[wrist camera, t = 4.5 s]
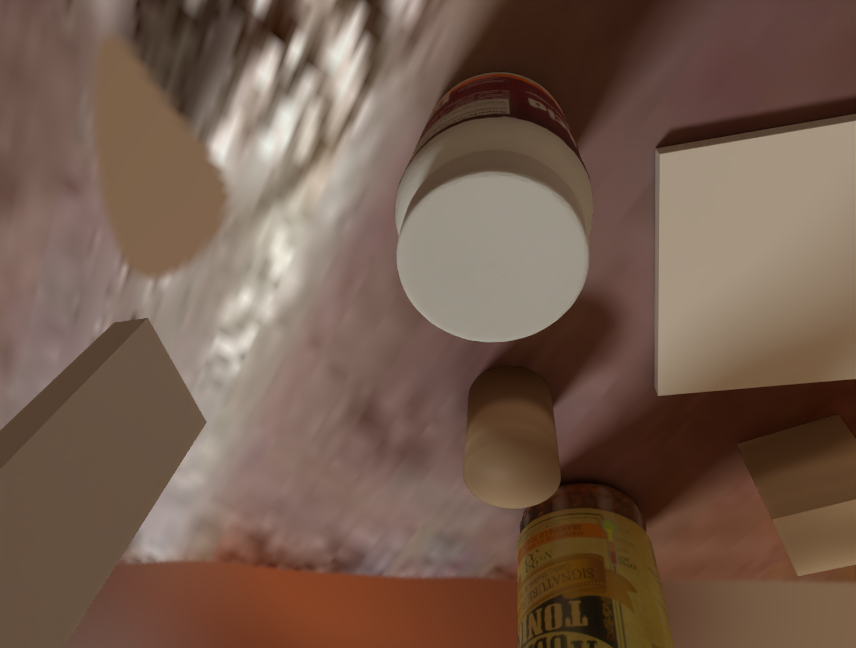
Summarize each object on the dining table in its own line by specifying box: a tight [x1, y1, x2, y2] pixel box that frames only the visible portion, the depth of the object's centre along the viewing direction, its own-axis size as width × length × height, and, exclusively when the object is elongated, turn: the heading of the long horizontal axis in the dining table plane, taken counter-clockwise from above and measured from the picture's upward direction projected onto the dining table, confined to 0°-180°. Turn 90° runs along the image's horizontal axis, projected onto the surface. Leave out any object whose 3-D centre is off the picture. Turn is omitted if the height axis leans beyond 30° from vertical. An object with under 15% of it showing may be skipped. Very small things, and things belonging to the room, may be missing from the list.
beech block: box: [737, 414, 856, 576], centre depth 23 cm, size 4×4×4 cm
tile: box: [655, 114, 856, 396], centre depth 19 cm, size 10×10×1 cm
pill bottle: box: [395, 72, 593, 342], centre depth 15 cm, size 5×5×8 cm
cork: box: [463, 366, 561, 509], centre depth 23 cm, size 4×4×4 cm
